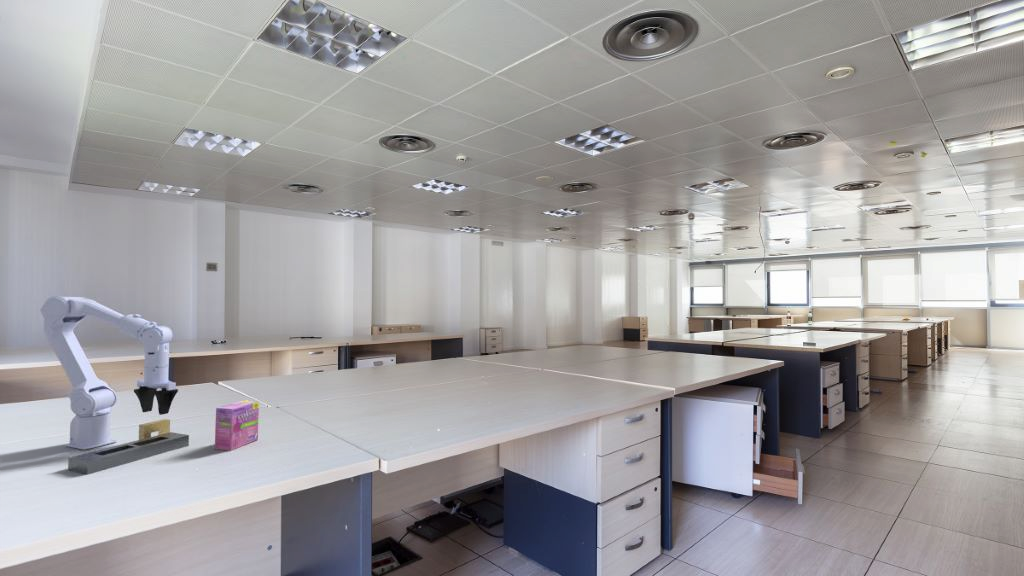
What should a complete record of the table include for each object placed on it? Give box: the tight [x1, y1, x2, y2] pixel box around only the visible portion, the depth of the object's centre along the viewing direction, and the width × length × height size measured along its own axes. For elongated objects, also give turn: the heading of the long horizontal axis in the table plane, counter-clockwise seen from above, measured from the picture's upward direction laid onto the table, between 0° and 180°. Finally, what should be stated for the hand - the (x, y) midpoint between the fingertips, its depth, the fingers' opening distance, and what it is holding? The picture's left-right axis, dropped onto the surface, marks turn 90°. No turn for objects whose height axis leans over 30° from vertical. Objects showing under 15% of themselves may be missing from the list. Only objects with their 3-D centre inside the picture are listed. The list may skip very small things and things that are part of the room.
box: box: [214, 399, 260, 452], centre depth 134 cm, size 10×6×12 cm, turn 168°
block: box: [67, 431, 190, 475], centre depth 123 cm, size 8×24×3 cm, turn 159°
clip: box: [138, 418, 171, 440], centre depth 135 cm, size 2×7×6 cm, turn 159°
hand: (155, 412), depth 135 cm, fingers open, 7 cm apart
